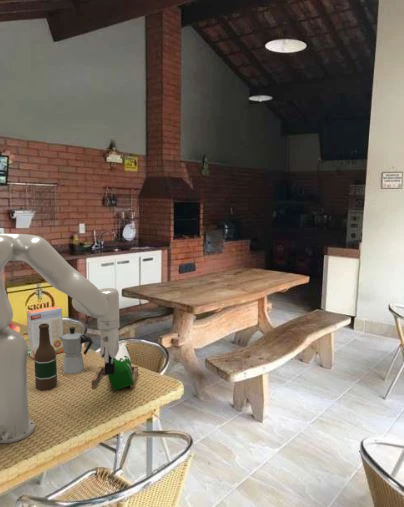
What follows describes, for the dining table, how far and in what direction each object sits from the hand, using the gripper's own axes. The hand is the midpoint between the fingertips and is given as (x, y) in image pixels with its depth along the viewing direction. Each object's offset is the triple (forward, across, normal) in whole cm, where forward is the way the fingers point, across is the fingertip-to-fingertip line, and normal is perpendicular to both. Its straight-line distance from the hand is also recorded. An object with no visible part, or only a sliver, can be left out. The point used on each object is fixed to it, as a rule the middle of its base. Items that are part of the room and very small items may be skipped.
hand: (109, 373), depth 151 cm
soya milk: (+4, +3, -3) cm, 6 cm away
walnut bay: (+8, +12, 0) cm, 15 cm away
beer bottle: (+8, +7, +25) cm, 28 cm away
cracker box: (+8, +40, +36) cm, 55 cm away
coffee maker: (+8, +22, +18) cm, 30 cm away
